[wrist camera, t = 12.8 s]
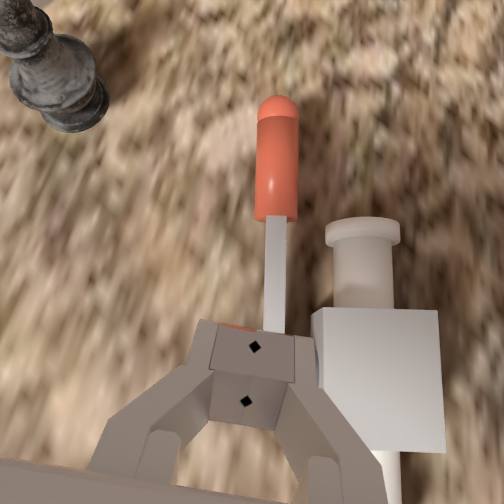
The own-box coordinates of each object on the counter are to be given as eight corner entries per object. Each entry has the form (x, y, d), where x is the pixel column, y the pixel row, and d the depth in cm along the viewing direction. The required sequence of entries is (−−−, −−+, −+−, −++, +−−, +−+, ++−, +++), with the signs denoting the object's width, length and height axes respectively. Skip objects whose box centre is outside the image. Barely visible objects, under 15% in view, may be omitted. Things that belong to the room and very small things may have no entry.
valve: (410, 527, 26) (454, 580, 20) (288, 522, 26) (296, 573, 20) (397, 237, 30) (431, 210, 24) (291, 234, 30) (299, 207, 24)
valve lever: (296, 403, 23) (301, 85, 26) (248, 402, 24) (257, 85, 26) (292, 392, 26) (297, 108, 29) (250, 391, 27) (258, 107, 29)
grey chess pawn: (73, 151, 32) (-36, 37, 20) (19, 105, 33) (-116, -31, 21) (129, 96, 33) (55, -45, 21) (75, 52, 33) (-25, -106, 22)
